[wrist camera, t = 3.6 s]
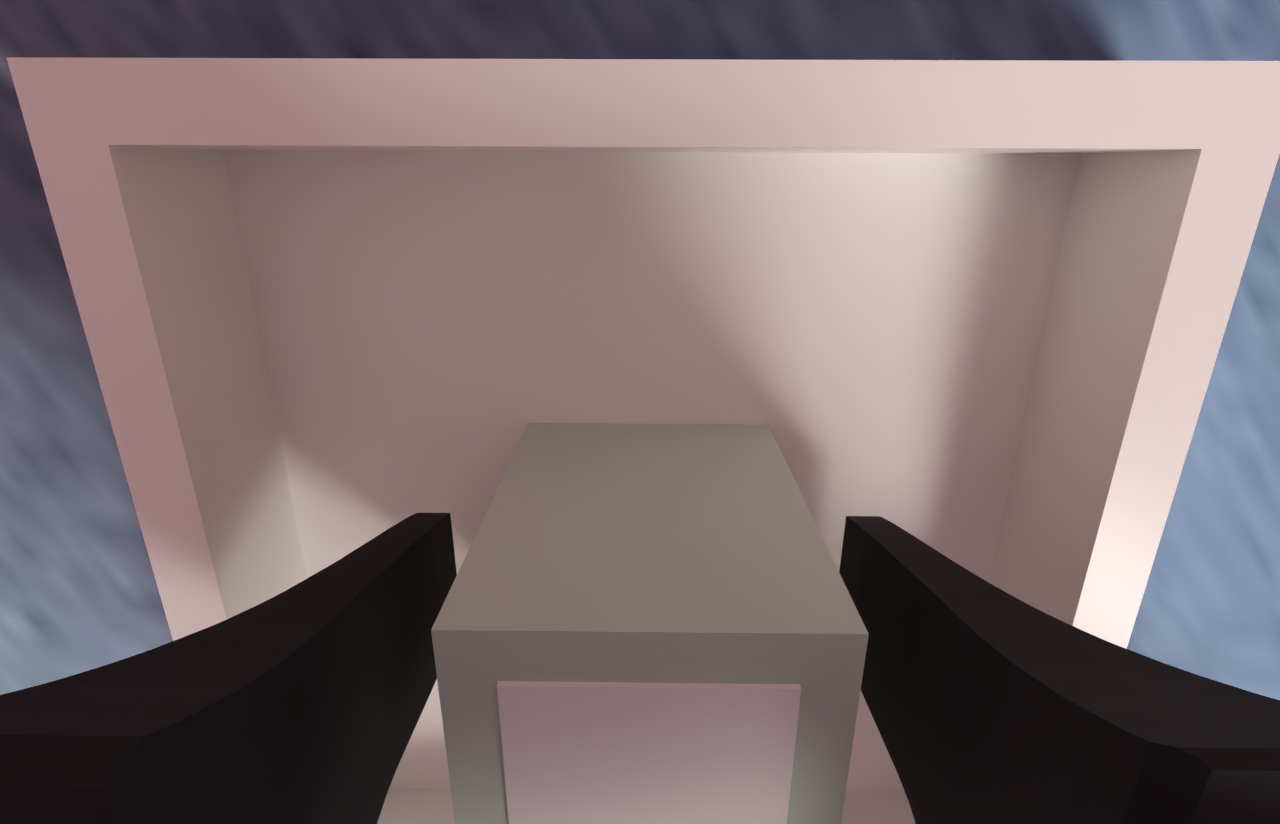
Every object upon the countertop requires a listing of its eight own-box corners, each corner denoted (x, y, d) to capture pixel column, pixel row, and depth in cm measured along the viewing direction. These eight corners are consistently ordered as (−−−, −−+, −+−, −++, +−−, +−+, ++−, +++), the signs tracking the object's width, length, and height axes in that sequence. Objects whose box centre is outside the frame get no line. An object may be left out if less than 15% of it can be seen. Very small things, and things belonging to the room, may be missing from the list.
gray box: (767, 424, 12) (870, 638, 7) (753, 624, 14) (827, 936, 8) (528, 423, 12) (428, 634, 7) (540, 622, 14) (466, 932, 8)
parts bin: (1137, 89, 11) (1308, 61, 8) (969, 807, 16) (1036, 939, 14) (169, 86, 11) (5, 57, 8) (322, 800, 16) (255, 930, 14)
